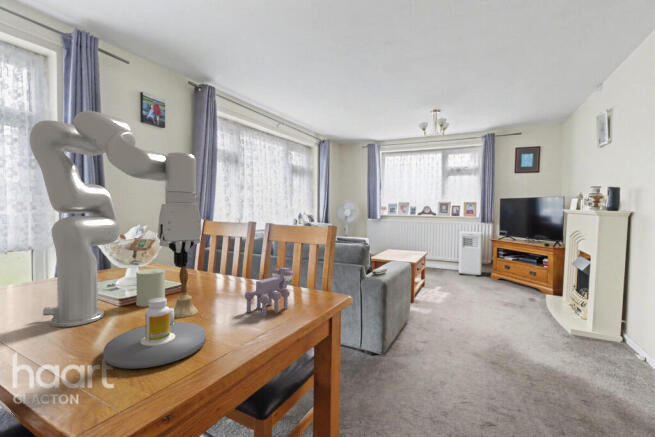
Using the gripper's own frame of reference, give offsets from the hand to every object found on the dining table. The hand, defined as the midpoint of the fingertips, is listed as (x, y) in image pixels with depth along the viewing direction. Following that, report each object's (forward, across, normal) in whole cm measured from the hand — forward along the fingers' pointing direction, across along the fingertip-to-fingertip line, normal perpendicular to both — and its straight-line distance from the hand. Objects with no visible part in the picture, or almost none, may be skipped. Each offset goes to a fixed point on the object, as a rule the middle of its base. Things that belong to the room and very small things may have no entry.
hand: (180, 266), depth 84 cm
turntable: (+19, +7, +4) cm, 21 cm away
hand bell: (+19, -9, -15) cm, 26 cm away
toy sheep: (+19, -32, +3) cm, 38 cm away
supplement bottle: (+17, +7, +3) cm, 19 cm away
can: (+19, -6, -35) cm, 40 cm away
